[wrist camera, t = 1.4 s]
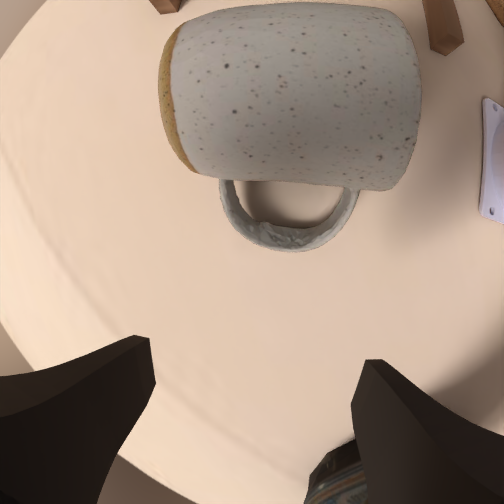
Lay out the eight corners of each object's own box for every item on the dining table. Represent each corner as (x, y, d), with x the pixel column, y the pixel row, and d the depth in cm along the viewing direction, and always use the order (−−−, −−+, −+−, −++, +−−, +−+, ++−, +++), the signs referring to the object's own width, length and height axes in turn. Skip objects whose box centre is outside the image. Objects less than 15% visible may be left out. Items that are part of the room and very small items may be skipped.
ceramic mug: (209, 59, 12) (153, -19, 5) (356, 58, 12) (403, -21, 4) (211, 244, 15) (147, 301, 7) (363, 245, 14) (431, 303, 7)
